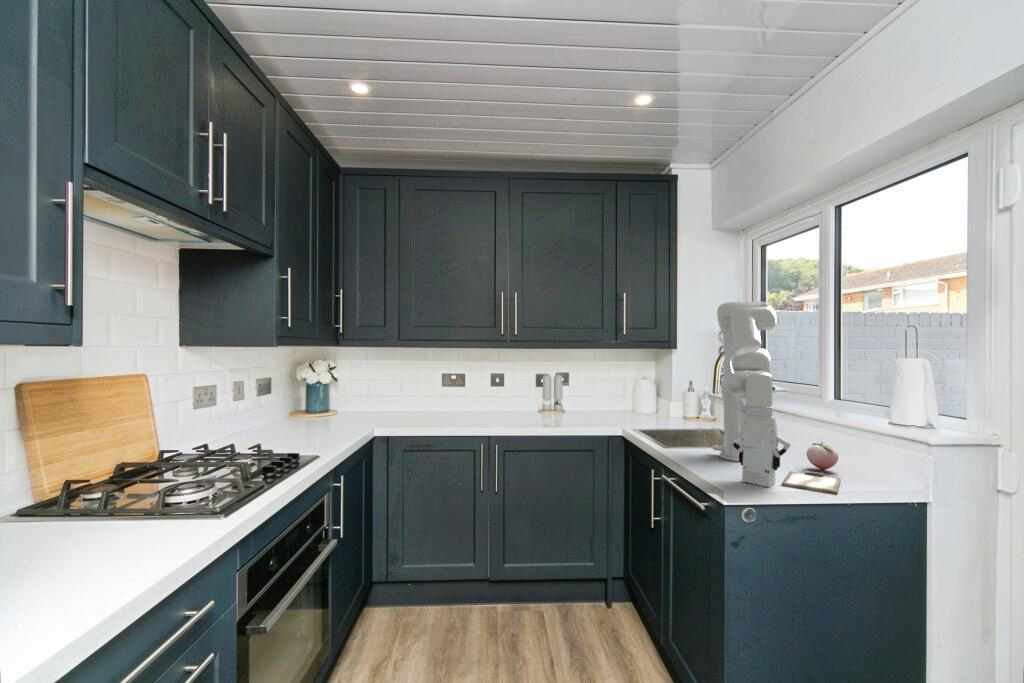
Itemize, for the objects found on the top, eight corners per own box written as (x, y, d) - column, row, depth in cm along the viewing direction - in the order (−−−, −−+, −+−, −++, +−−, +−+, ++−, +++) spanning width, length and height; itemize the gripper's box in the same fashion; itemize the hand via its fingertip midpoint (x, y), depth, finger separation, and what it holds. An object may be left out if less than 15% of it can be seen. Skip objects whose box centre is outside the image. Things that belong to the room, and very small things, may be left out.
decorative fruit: (800, 467, 165) (800, 439, 165) (818, 466, 167) (818, 438, 167) (824, 474, 156) (823, 445, 156) (843, 473, 158) (843, 443, 158)
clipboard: (781, 485, 144) (781, 479, 144) (789, 473, 157) (789, 468, 157) (836, 494, 135) (836, 488, 135) (840, 481, 148) (840, 475, 148)
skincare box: (741, 482, 147) (741, 435, 147) (748, 478, 151) (748, 432, 151) (770, 488, 141) (770, 439, 141) (777, 484, 145) (776, 436, 145)
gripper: (726, 410, 149) (726, 464, 149) (788, 415, 138) (789, 474, 138) (732, 408, 155) (732, 460, 154) (792, 413, 144) (792, 469, 144)
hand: (759, 466), depth 146 cm, fingers closed on skincare box, 8 cm apart
